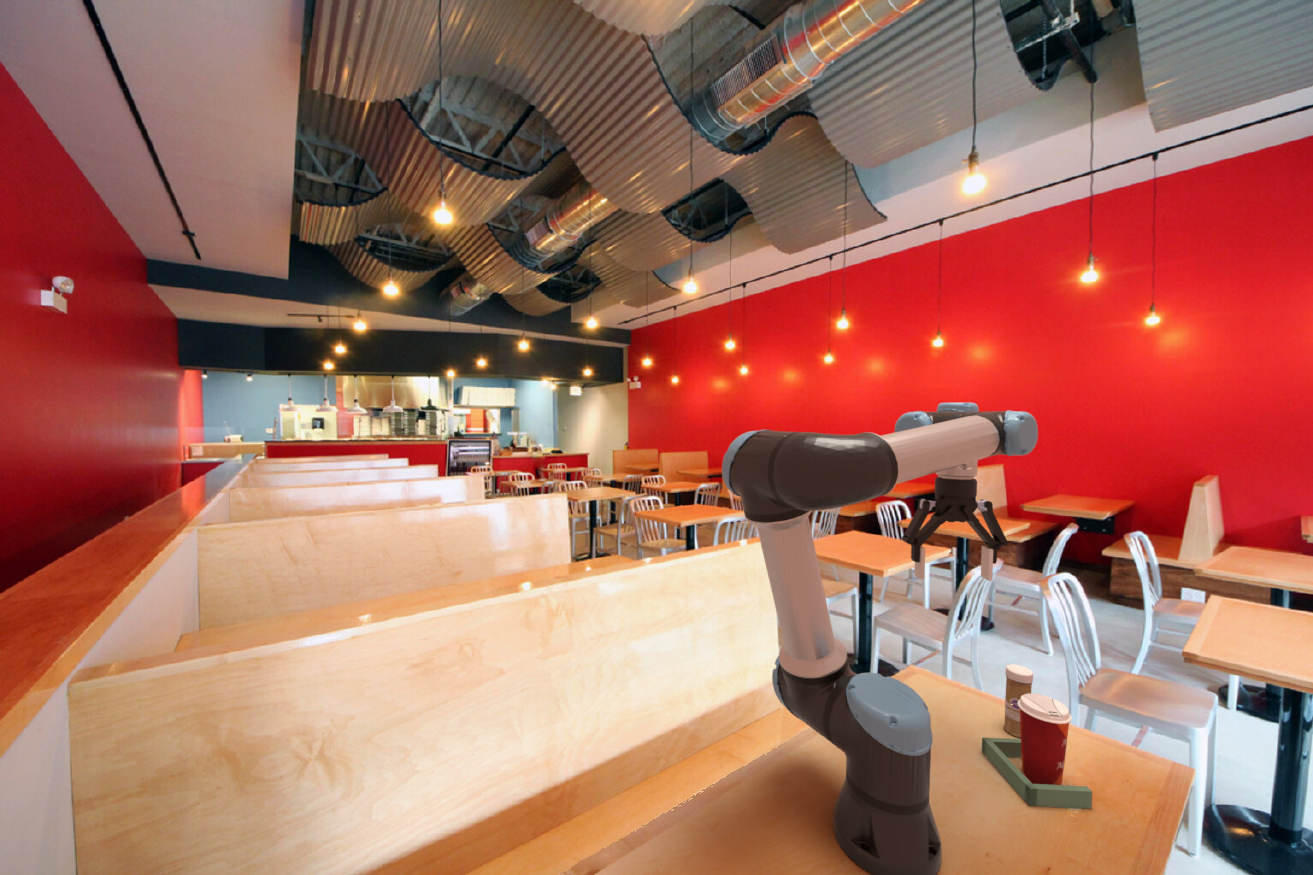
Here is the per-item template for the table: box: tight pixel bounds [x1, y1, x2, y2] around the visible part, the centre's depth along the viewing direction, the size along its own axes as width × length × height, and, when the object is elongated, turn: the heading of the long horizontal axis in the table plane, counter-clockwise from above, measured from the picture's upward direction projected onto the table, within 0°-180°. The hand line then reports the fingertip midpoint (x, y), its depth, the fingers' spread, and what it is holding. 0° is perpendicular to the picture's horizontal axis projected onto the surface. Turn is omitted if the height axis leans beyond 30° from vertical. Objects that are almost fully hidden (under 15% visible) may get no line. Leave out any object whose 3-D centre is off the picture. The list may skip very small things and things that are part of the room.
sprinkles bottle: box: [1003, 663, 1034, 739], centre depth 103 cm, size 5×5×14 cm
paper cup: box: [1018, 693, 1073, 785], centre depth 89 cm, size 8×8×14 cm
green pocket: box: [981, 736, 1093, 810], centre depth 90 cm, size 10×13×3 cm
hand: (952, 578), depth 104 cm, fingers open, 13 cm apart
